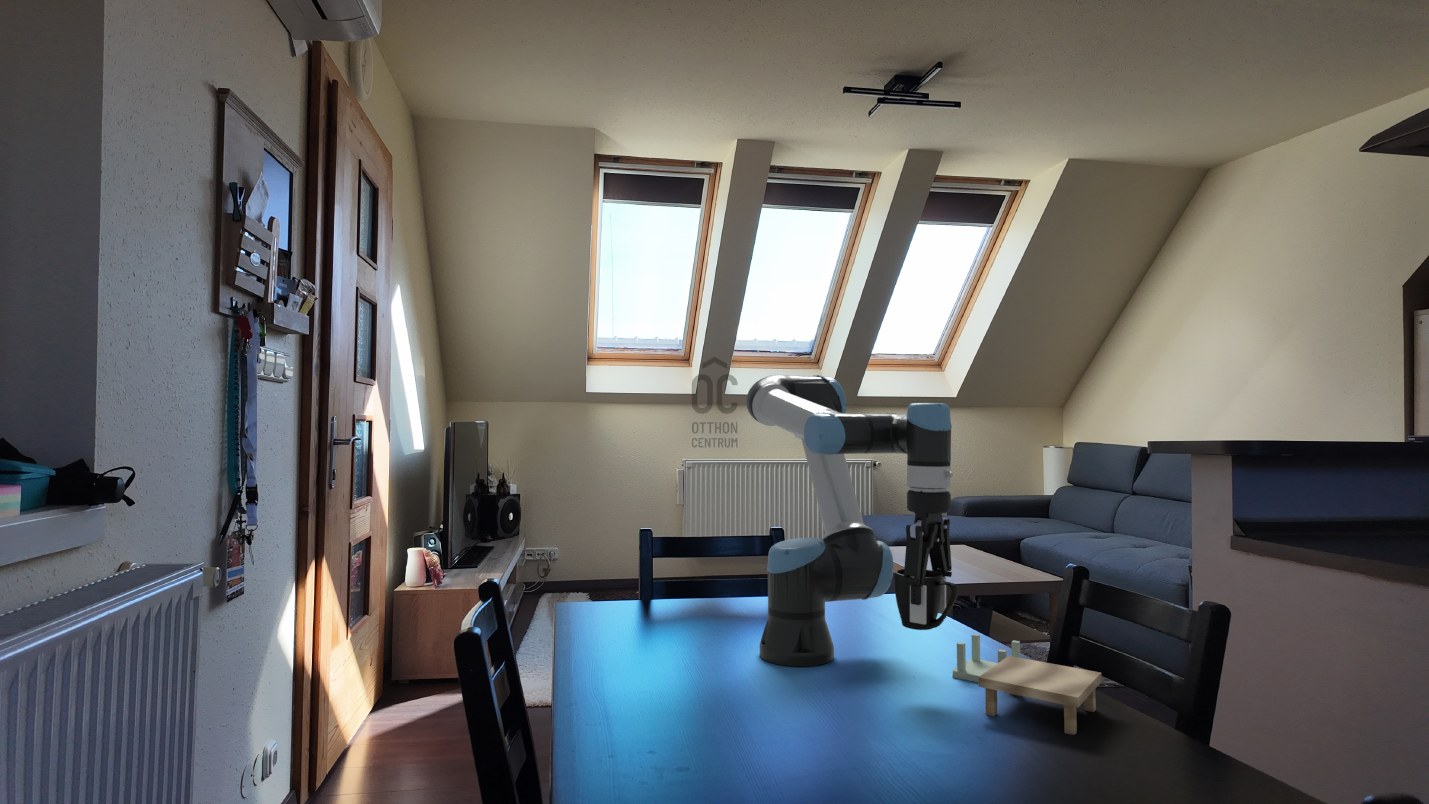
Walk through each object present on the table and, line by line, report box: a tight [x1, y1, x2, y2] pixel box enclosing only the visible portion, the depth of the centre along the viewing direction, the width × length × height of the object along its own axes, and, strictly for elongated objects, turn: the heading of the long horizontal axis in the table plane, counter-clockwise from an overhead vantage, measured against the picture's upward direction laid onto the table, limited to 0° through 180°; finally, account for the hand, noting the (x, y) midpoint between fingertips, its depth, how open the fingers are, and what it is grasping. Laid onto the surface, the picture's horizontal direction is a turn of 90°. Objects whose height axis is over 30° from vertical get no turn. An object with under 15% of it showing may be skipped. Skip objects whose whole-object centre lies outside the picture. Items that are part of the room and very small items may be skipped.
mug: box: [894, 568, 959, 631], centre depth 135 cm, size 8×12×10 cm
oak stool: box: [978, 655, 1102, 736], centre depth 124 cm, size 15×15×6 cm
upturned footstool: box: [952, 633, 1021, 684], centre depth 143 cm, size 10×10×6 cm
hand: (928, 617), depth 135 cm, fingers closed on mug, 8 cm apart
